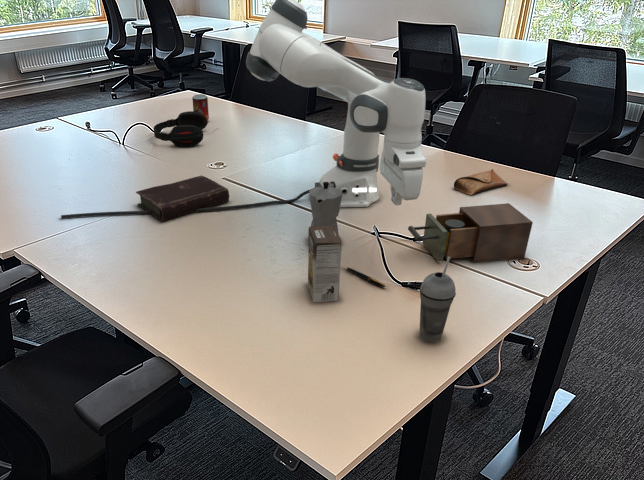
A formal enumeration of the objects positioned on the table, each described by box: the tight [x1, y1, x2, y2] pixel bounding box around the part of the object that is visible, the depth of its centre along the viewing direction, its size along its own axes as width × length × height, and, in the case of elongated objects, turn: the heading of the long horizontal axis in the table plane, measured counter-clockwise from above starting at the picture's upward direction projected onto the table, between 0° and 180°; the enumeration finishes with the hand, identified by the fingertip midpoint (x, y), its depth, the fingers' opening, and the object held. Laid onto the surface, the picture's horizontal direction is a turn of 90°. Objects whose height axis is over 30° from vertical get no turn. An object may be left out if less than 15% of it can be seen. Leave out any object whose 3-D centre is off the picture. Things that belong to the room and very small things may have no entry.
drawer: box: [407, 212, 479, 263], centre depth 157 cm, size 19×11×9 cm, turn 97°
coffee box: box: [307, 225, 343, 303], centre depth 140 cm, size 9×6×16 cm
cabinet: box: [458, 202, 534, 264], centre depth 158 cm, size 14×13×11 cm
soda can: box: [191, 93, 210, 121], centre depth 275 cm, size 7×7×12 cm
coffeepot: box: [308, 181, 343, 241], centre depth 164 cm, size 15×9×18 cm, turn 159°
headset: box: [153, 110, 218, 148], centre depth 253 cm, size 28×26×9 cm
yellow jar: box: [444, 219, 465, 250], centre depth 157 cm, size 5×5×7 cm
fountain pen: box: [344, 266, 386, 288], centre depth 150 cm, size 14×1×2 cm, turn 39°
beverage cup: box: [419, 256, 457, 344], centre depth 123 cm, size 7×7×20 cm
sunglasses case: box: [453, 168, 509, 196], centre depth 199 cm, size 18×7×7 cm, turn 120°
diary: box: [135, 175, 230, 222], centre depth 193 cm, size 19×25×5 cm
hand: (396, 203), depth 150 cm, fingers closed
